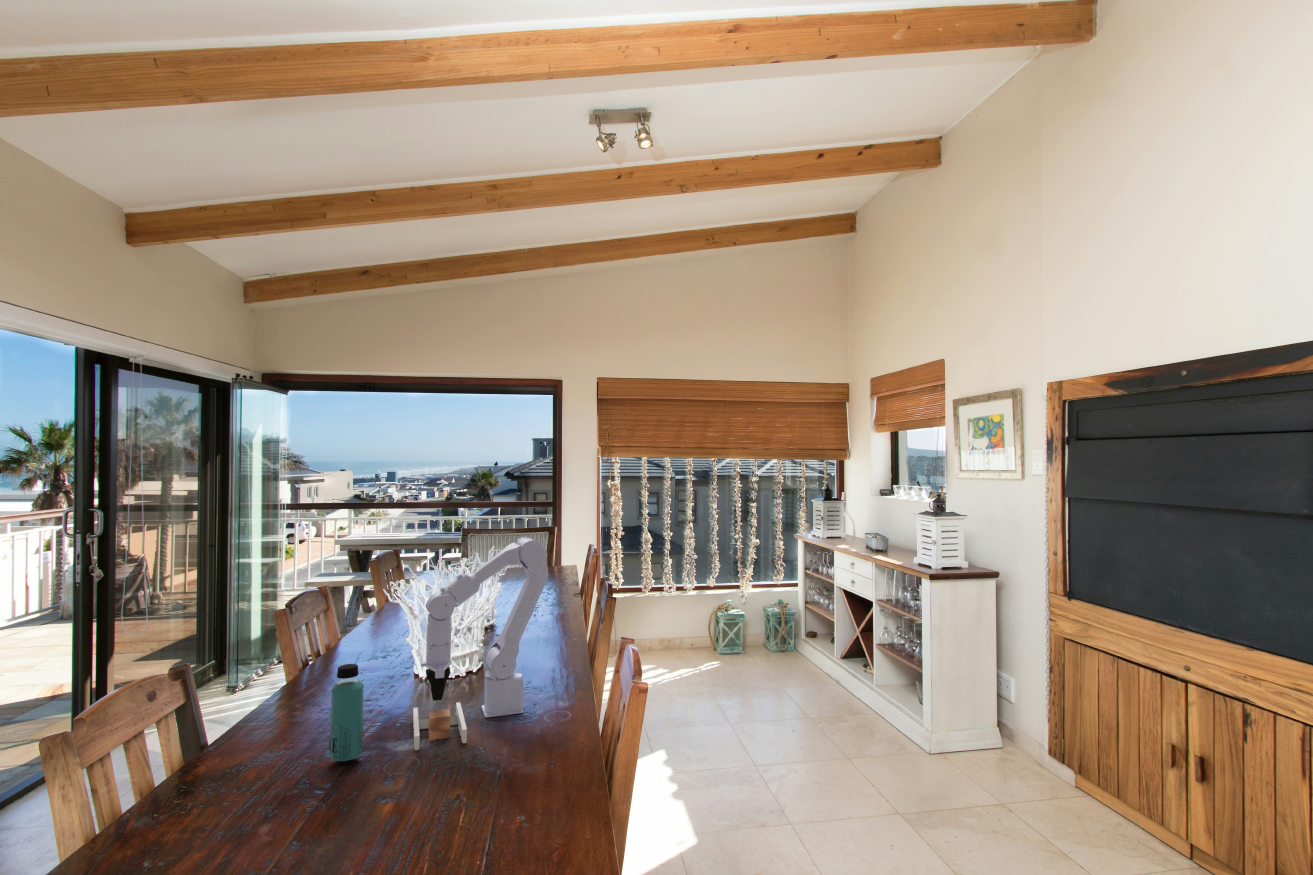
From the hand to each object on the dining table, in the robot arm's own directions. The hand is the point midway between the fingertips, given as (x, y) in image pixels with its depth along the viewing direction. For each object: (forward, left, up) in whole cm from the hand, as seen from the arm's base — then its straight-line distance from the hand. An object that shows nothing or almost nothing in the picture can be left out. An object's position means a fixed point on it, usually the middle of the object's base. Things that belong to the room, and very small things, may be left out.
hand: (437, 699), depth 159 cm
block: (0, +9, -5) cm, 11 cm away
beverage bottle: (+19, +17, -5) cm, 26 cm away
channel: (0, +7, -5) cm, 9 cm away
